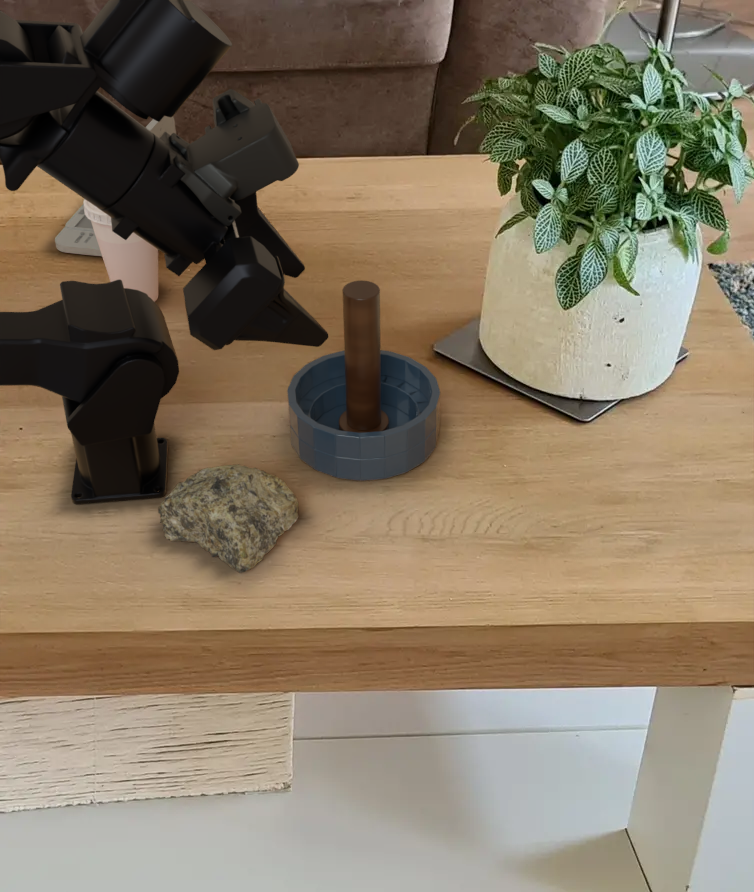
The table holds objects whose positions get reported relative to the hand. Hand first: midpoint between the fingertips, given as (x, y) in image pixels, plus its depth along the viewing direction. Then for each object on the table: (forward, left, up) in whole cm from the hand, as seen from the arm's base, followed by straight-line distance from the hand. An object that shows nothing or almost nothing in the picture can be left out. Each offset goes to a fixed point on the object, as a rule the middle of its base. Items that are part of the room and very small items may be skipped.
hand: (311, 305), depth 81 cm
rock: (-10, +7, -13) cm, 17 cm away
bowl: (0, -3, -12) cm, 13 cm away
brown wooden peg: (0, -3, -12) cm, 12 cm away
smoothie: (+23, +15, -12) cm, 30 cm away
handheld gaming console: (+37, +17, -13) cm, 43 cm away
